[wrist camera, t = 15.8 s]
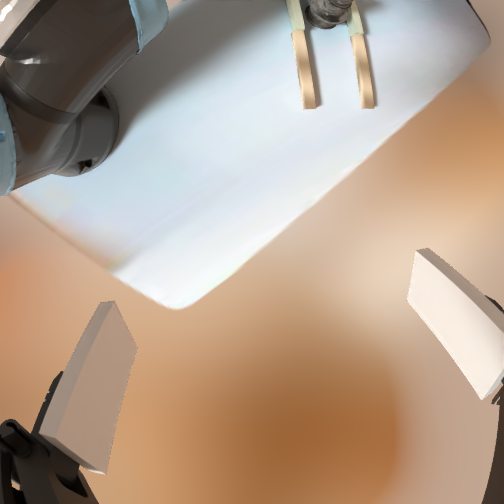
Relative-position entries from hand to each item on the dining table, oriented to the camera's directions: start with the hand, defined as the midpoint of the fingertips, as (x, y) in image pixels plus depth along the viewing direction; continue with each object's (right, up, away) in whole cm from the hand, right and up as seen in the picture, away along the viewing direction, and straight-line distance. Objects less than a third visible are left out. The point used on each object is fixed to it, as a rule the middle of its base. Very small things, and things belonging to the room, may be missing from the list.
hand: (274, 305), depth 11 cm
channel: (+11, +29, +21) cm, 37 cm away
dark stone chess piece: (+10, +38, +17) cm, 42 cm away
